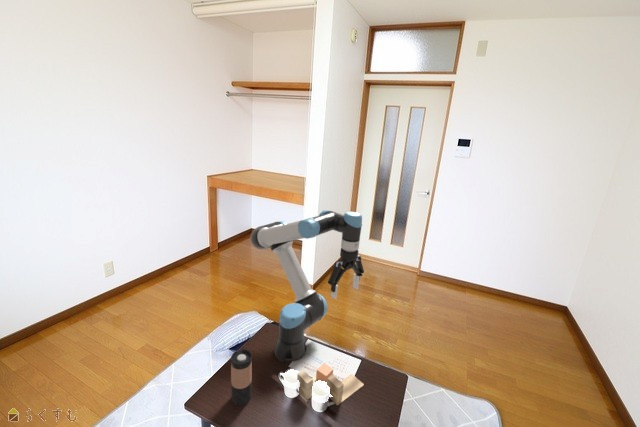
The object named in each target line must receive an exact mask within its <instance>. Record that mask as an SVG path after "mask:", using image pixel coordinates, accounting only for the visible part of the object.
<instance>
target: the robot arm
mask: <svg viewBox="0 0 640 427" xmlns="http://www.w3.org/2000/svg"><path fill="white" fill-rule="evenodd" d="M362 226H363V215H362V214H361V213H359V212H356V211H346V212H345V213H344V214H342V213H339V212H336V211H334V210H330V209H324V210H322V211H321V212H320V213H319V215H316V216H313V217H310V218H309V217H308V218H306V219H305V218H304V219H302V220H297V221H294V222H289V223H288V222H286V221H282V220H279V221H274V222H271V223H268V224H264V225H260V226H257V227H256V228H254V229H253V231H252V232H251V233H250V237H249V238H250V243H251V245H253V247H254V248H255V249H258V250H267V249H270V250H271V251H272V253H274V254H276V256H277V258H278V260H279V263H280V264H281V267H282V269H283V271H284V274H285V276H286V278H287V280H288V282H289V284H290V286H291V289H292V291H293V293H294V295H295V299H294V302H293V303H292V302H291V303H287V304H286V305H284V306H283V307H282V308H281V310H280V313H279V318H278V321H279V324H278V339H277V342H276V343H275V346H274V355H275V358H276V359H277V360H278V361H279V362H281V363H282V364H285V363H287V362H291V363H293V362H297V361H300V360H301V359H303V358H304V357H305V355H306V354H307V344H306V340H305V331H306V330H307V329H308V328H310V327H311V326H313V325H314V324H315V323H317V322H319V321H321V320H322V318H324V317H325V315H327V311H328V303H327V300H326V299H325V297H324V296H322V294H320V293H317V290H314V289H312V287H311V285H310V282H309V281H308V278H307V276H306V275H305V272H304V270H303V267H302V265H301V264H300V262H299V259H298V257H297V254H296V253H295V251H294V249H293V243H294V241H296V240H302V239H307V240H308V239H312V238H315V237H317V236H320V235H323V234H325V233H328V232H331V231H335V232H338V233H341V241H340V252H339V253H340V254H339V256H340V261H337V260H335V262H334V266H333V270H332V272H331V273H330V275H329V278H328V279H327V280H328V281H327V284H328V285H330V286H331V287H330V291H331V295H330V297H331V298H332V299H334V300H337V299H338V298H337V297H338V289H339V285H338V283H339V282H340V280H341V278H342V277H343V275H344V273H346V272H347V271H348V270H350V269H352V270H353V273H354V274H353V280H352V288H354V289H355V290H359V284H360V279H361V277H363V274H364V273H365V270H364V266H363V263H362V256H361V255H359V250H360V240H361V232H362Z"/></svg>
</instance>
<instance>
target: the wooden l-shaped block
mask: <svg viewBox="0 0 640 427" xmlns="http://www.w3.org/2000/svg"><path fill="white" fill-rule="evenodd" d="M327 385H328V386H329V387H330V394H331V395H332V396H333V397H331V398H329V399H330V400H331V401H332V402H333V403H334V404H335V405H336V406H339V405H340V404H341V403H342V402H344V401H345V400H346V399H348V398H349V397H350V396H352V395H353V394H354V393H355V392H357V391H358V390H360V388H362V387H364V385H365V384H364V383H363V382H362V381H361V380H360V379H358V378H357V377H356V376H355V375H354V374H352V373H351V374H350V375H348V376H347V377H346V378H344V379H343V380H341V381H340V379H339V378H337V376H336V375H335V374H333V375H332V376H330V377H329V378H328V379H327Z"/></svg>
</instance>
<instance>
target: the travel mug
mask: <svg viewBox="0 0 640 427" xmlns="http://www.w3.org/2000/svg"><path fill="white" fill-rule="evenodd" d="M252 360H253V359H252V352H251V351H249V350H247V349H242V350H239V351H238V350H236V351H234V352H233V353H232V354H231V357H230V385H231V386H230V387H231V401H232V403H233V404H234V406H237V407H241V406H246V405H247V404H248V403H249V402H250V400H251V397H252V380H253V379H252V378H253V376H252V374H253V373H252V372H253V371H252V370H253V366H252V364H253V363H252Z"/></svg>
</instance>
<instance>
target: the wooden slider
mask: <svg viewBox="0 0 640 427" xmlns="http://www.w3.org/2000/svg"><path fill="white" fill-rule="evenodd" d="M296 375H297V377H296V378H297V379H296V381H297V380H299V382H300V387H299V391H298V392H299V394H298V395H299V396H300V398H302V400H304V402H305V403H306V404H307V403H309V402H310V399H311V398H312V397H311V395H312V386H313V383H314V382H316V381H318V380H317V379H316V375H314V376H313V377H311V375H309V374H308V373H307V372H306V371H305V370H300V371H299V372H297V374H296Z"/></svg>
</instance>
